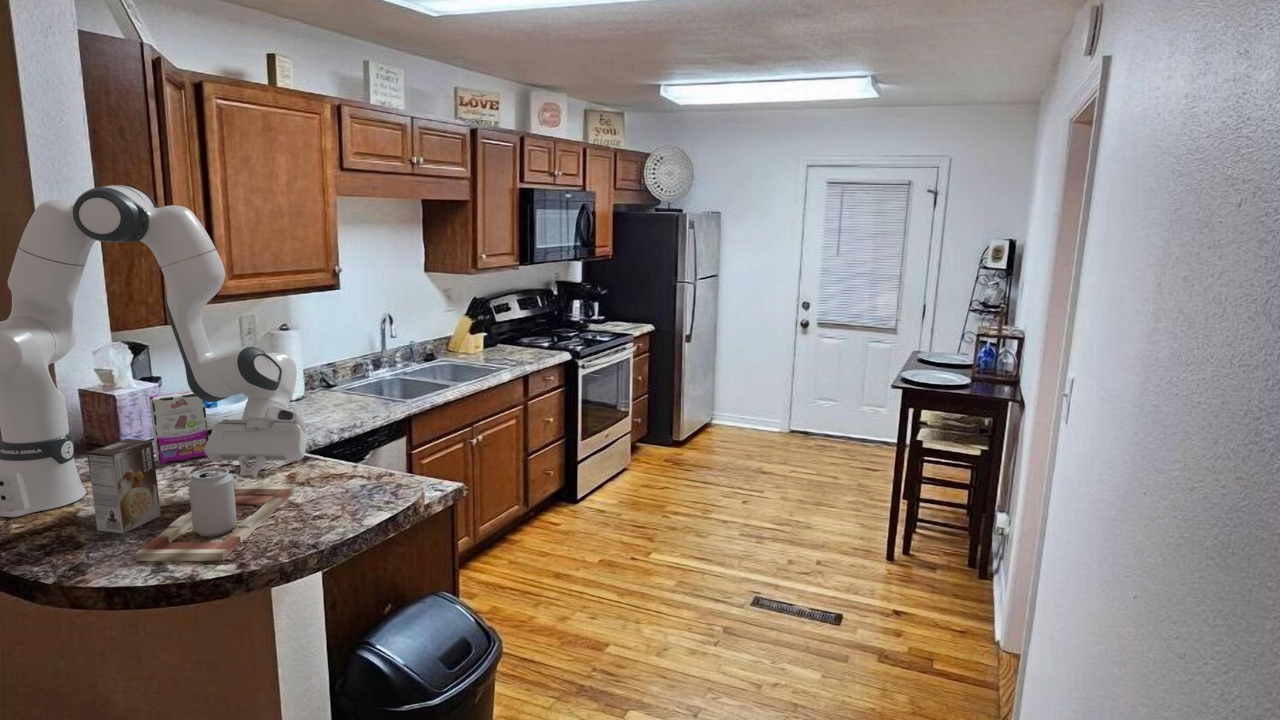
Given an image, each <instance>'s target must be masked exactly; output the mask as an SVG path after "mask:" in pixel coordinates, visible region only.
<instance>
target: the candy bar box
mask: <svg viewBox="0 0 1280 720" xmlns="http://www.w3.org/2000/svg"><path fill="white" fill-rule="evenodd" d="M148 398H149V399H148V400H149V407H150V414H151V416H150V417H151V424H152V431H153V432H152V435H153V441H154V448H155V450H154V451H155V457H156V460H158V461H157V462H158V464H159V465H165V464H171V463H177V462H181V461H182V462H183V461H188V460H195V459H201V458H205V457H206V458H207V457H208V456H207V455H206V453H205V451H204V449H205V446H206V444H207V441H208V439H209V431H208V424H207V423H208V422H207V421H208V420H207V413H206V412H207V410H206V405H205V402H206V401H204V400H202V399H200V398H199V397H197V396H196V395H195V394H194V393H193V392H192V391H191V390H188V391H187V390H186V391H178V392H172V393H165V394H156V395H149V397H148Z"/></svg>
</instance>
